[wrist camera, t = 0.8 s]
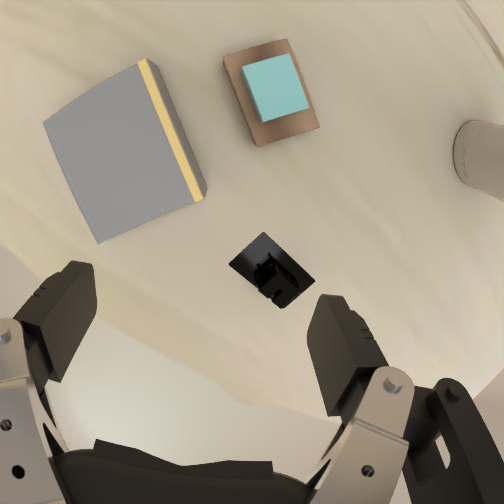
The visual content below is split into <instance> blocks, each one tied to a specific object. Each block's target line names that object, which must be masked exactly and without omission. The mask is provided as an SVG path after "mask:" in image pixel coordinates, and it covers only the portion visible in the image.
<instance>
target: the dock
mask: <svg viewBox="0 0 504 504" xmlns="http://www.w3.org/2000/svg"><path fill="white" fill-rule="evenodd" d="M43 124H44V127H45V130H46V133H47V135H48V138H49V140H50V143H51V145H52V148H53V151H54V153H55V155H56V158H57V160H58V163H59V165H60V167H61V170H62V172H63V174H64V176H65V179H66V181H67V183H68V185H69V187H70V190H71V192H72V194H73V196H74V198H75V200H76V202H77V204H78V206H79V208H80V210H81V212H82V214H83V216H84V218H85V220H86V222H87V224H88V226H89V228H90V230H91V232H92V234H93V236H94V237H95V239H96V241H97V243H98V244H100V243H102V242H104V241H106V240H108V239H111V238H113V237H115V236H117V235H119V234H121V233H124V232H126V231H128V230H130V229H132V228H135V227H137V226H139V225H141V224H144V223H146V222H148V221H150V220H153V219H155V218H157V217H160V216H162V215H164V214H167V213H169V212H172V211H174V210H176V209H179V208H181V207H184V206H186V205H188V204H191V203H193V202H198V201H200V200H203V199H204V198H205V195H206V191H207V185H206V183H205V181H204V178H203V176H202V173H201V171H200V169H199V166H198V164H197V161H196V159H195V157H194V154H193V152H192V149H191V147H190V145H189V142H188V140H187V137H186V135H185V132H184V130H183V128H182V125H181V123H180V120H179V118H178V115H177V113H176V110H175V108H174V106H173V103H172V101H171V98H170V96H169V93H168V91H167V88H166V86H165V83H164V81H163V78H162V76H161V73H160V71H159V68H158V66H157V65H156V64H154V63H153V62H152V61H150V60H149V59H143V60H141V61H139V62H137V64H135V65H133V66H131V67H130V68H128V69H126V70H124V71H122V72H120V73H118V74H116V75H115V76H113V77H111V78H109V79H108V80H106V81H104V82H102V83H101V84H99V85H97V86H96V87H94V88H92V89H91V90H89V91H88V92H86V93H84V94H83V95H81V96H80V97H78V98H77V99H75V100H74V101H72V102H71V103H69V104H68V105H66V106H65V107H63V108H62V109H61V110H59V111H58V112H56V113H55V114H54V115H52V116H51V117H50V118H48V119H47V120H46V121H44V122H43Z"/></svg>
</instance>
